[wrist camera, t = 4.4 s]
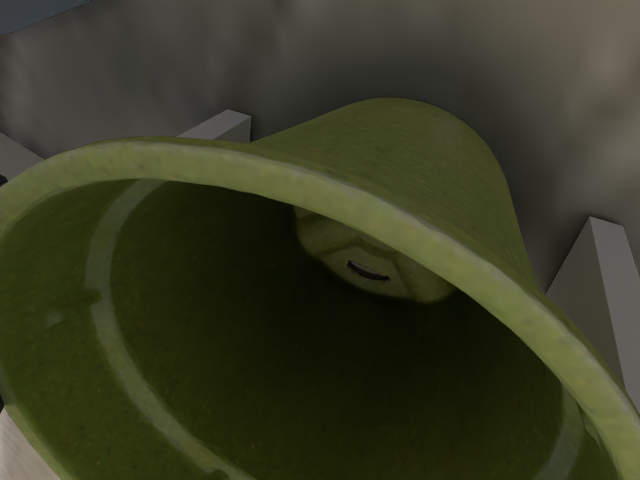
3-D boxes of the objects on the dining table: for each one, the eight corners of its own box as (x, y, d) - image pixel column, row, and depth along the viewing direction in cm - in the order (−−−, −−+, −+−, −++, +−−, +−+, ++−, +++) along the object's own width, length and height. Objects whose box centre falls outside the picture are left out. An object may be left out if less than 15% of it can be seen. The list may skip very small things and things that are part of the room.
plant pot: (261, -26, 11) (-152, 17, 4) (676, 86, 10) (1052, 446, 3) (232, 269, 17) (25, 493, 10) (494, 376, 15) (462, 742, 8)
